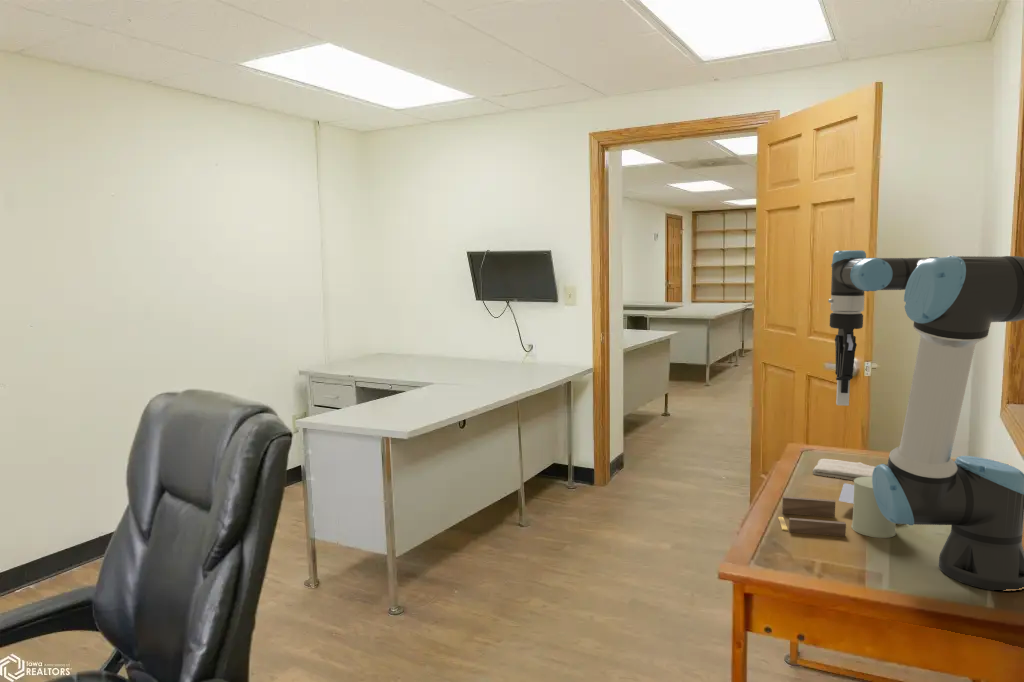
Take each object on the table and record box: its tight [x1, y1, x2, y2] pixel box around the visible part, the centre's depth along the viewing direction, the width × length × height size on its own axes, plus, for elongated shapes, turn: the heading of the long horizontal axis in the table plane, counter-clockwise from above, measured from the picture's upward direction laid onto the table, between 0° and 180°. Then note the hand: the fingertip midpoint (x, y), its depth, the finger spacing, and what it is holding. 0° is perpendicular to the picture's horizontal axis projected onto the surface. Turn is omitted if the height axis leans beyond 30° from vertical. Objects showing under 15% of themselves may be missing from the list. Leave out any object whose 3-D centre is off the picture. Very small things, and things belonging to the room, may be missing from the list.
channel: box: [777, 496, 847, 538], centre depth 165 cm, size 13×14×4 cm
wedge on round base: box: [838, 482, 854, 504], centre depth 170 cm, size 9×7×13 cm
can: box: [851, 477, 897, 539], centre depth 159 cm, size 9×9×12 cm
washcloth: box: [812, 458, 876, 481], centre depth 202 cm, size 12×18×3 cm, turn 57°
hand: (842, 404), depth 174 cm, fingers closed
